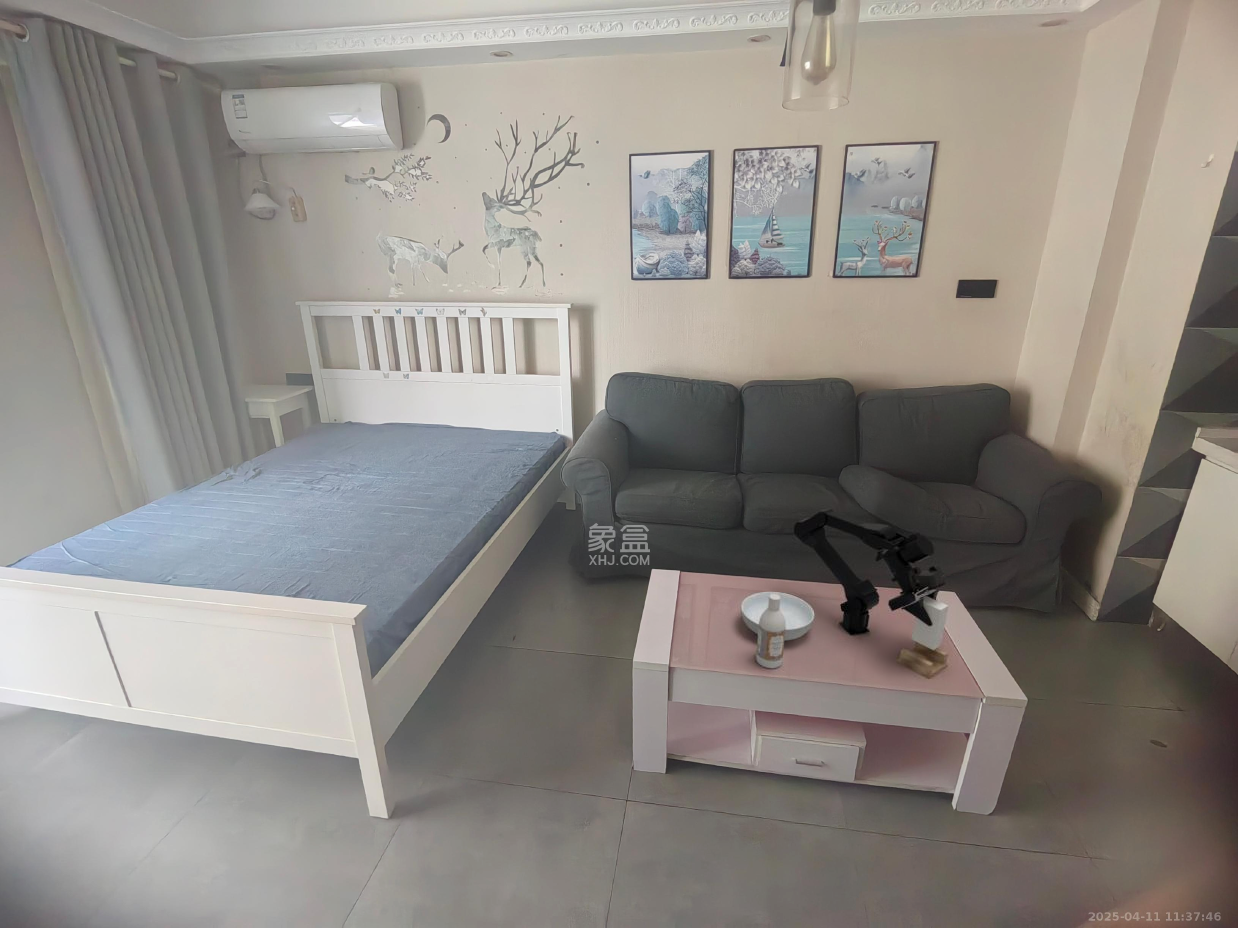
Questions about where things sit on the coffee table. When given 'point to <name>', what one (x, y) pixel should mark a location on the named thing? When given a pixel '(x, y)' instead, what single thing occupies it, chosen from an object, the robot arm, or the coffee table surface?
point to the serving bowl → (791, 607)
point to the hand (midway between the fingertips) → (935, 623)
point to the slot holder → (924, 660)
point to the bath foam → (771, 635)
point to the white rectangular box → (934, 633)
